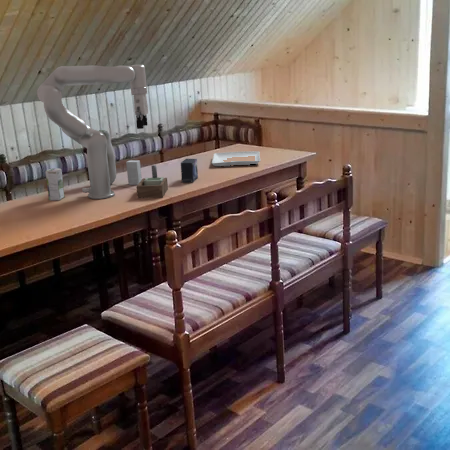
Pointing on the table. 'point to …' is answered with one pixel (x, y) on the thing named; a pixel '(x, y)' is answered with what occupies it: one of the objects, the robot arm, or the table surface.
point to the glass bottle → (110, 157)
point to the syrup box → (55, 184)
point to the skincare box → (133, 172)
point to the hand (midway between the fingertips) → (142, 127)
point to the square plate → (220, 157)
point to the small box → (189, 170)
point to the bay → (152, 190)
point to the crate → (153, 178)
